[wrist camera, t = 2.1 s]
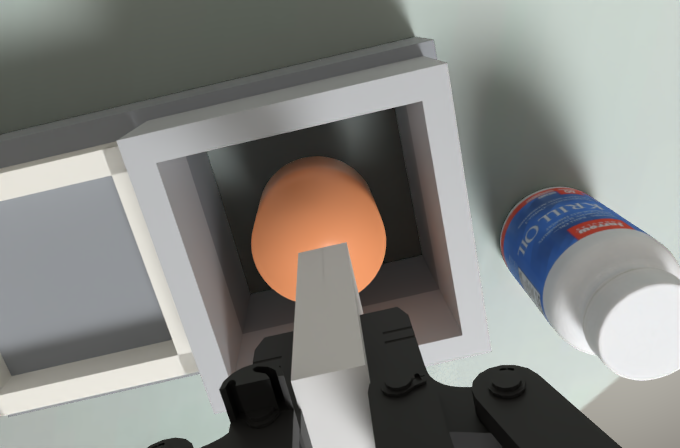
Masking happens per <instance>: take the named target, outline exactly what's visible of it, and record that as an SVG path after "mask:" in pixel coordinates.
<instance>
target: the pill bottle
mask: <svg viewBox="0 0 680 448" xmlns="http://www.w3.org/2000/svg"><path fill="white" fill-rule="evenodd" d="M500 248H501V253H502V256H503V259H504V262H505V264H506V265H507V267H508V269H509V270H510V272H511V273H512V275H513V276H514V277H515V278H516V280H517V281H518V282H519V284H520V285H521V286H522V287H523V289H524V290H525V292H526V293H527V294H528V296H529V297H530V298H531V300H532V301H533V302H534V303H535V305H536V306H537V307H538V309H539V310H540V311H541V313H542V314H543V315H544V317H545V318H546V319H547V321H548V322H549V324H550V325H551V326H552V327H553V328H554V329H555V331H556V332H557V333H558V334H559V336H560V337H561V338H562V339H563V340H564V341H566V342H567V343H568V344H569V345H571V346H572V347H574V348H576V349H578V350H580V351H582V352H585V353H588V354H591V355H597V356H598V357H599V358H600V359H601V361H602V362H603V363H604V364H605V365H606V366H607V367H608V368H609V369H610V370H611V371H613V372H614V373H616V374H617V375H619V376H622V377H624V378H628V379H632V380H652V379H657V378H660V377H664V376H667V375H669V374H671V373H673V372H675V371H677V370H678V369H680V266H679V264H678V262H677V260H676V259H675V257H674V256H673V254H672V253H671V252H670V251H669V250H668V249H667V248H666V247H665V246H664V245H663V244H661V243H660V242H658V241H657V240H656V239H654V238H653V237H651V236H650V235H648V234H647V233H645V232H644V231H642V230H641V229H639V228H638V227H636V226H635V225H633V224H632V223H630V222H629V221H627V220H626V219H624V218H623V217H621V216H620V215H618V214H617V213H615V212H614V211H612V210H611V209H609V208H607V207H606V206H604V205H603V204H601V203H600V202H598V201H597V200H595V199H594V198H593V197H591V196H589V195H588V194H586V193H584V192H582V191H579V190H577V189H573V188H569V187H550V188H545V189H542V190H539V191H536V192H534V193H532V194H530V195H528V196H526V197H525V198H523V199H522V200H521V201H520V202H518V203H517V204H516V206H515V207H514V208H513V209H512V210H511V211H510V213H509V214H508V216H507V218H506V220H505V222H504V224H503V227H502V231H501V236H500Z"/></svg>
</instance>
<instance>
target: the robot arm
mask: <svg viewBox="0 0 680 448" xmlns="http://www.w3.org/2000/svg"><path fill="white" fill-rule="evenodd" d="M219 391H220V394H221V397H222V399H223V402H224V405H225V408H226V411H227V414H228V416H229V419H230V422H231V424H230V429H229V433H228V434H226V435H225V436H223V437H222V438H220V439H218V440H216V441H214V442H212V443H210V444H208V445H206V446H203V447H201V448H622V447H620V446H619V445H618V444H617V443H616V442H615V441H614V440H613V439H611V438H610V437H609V436H608V435H607V434H606V433H605V432H603V431H602V430H601V429H600V428H599V427H598V426H596V425H595V424H594V423H593V422H592V421H591V420H590V419H589V418H587V417H586V416H585V415H584V414H583V413H582V412H581V411H579V410H578V409H577V408H576V407H575V406H574V405H573V404H571V403H570V402H569V401H568V400H567V399H566V398H565V397H563V396H562V395H561V394H560V393H559V392H558V391H557V390H555V389H554V388H553V387H552V386H551V385H550V384H549V383H547V382H546V381H545V380H544V379H543V378H542V377H541V376H539V375H538V374H537V373H535V372H533V371H532V370H530V369H528V368H525V367H521V366H516V365H501V366H497V367H493V368H489V369H487V370H485V371H484V372H482V373H480V374H479V375H478V376H477V377H476V378H475V380H474V381H473V385H472V387H453V386H448V385H444V384H441V383H439V382H437V381H435V380H434V379H433V378H431V377H430V376H429V374H428V372H427V371H426V368H425V364H424V361H423V358H422V355H421V352H420V349H419V346H418V343H417V340H416V337H415V333H414V330H413V328H412V324H411V321H410V318H409V315H408V314H407V313H405V312H404V311H403V310H401V309H400V308H398V307H394V308H389V309H385V310H380V311H376V312H371V313H366V314H363V310H362V305H361V301H360V297H359V293H358V288H357V284H356V280H355V276H354V271H353V267H352V263H351V259H350V254H349V250H348V246H347V242H345V243H341V244H336V245H332V246H327V247H323V248H318V249H314V250H310V251H305V252H301V253H298V267H297V284H296V301H295V318H294V331H291V332H287V333H282V334H277V335H273V336H268V337H264V339H263V340H262V341H261V342H260V344H259V345H258V346H257V348H256V349H255V351H254V357H253V364H252V365H249V366H246V367H243V368H241V369H239V370H237V371H236V372H234V373H232V374H231V375H230V376H229V377H228V378H227V379H225V380H224V381H223V383H222V385H221V387H220V389H219ZM148 448H193V445H192V443H190V442H189V441H188V440H186V439H182V438H171V439H166V440H162V441H160V442H157V443H155V444H153V445H151V446H149V447H148Z"/></svg>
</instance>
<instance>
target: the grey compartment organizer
mask: <svg viewBox="0 0 680 448" xmlns="http://www.w3.org/2000/svg"><path fill="white" fill-rule="evenodd" d="M390 108H395V113H396V118H397V124H398V129H399V134H400V140H401V145H402V150H403V155H404V161H405V166H406V171H407V177H408V182H409V187H410V193H411V198H412V203H413V208H414V214H415V219H416V224H417V230H418V235H419V240H420V245H421V251H422V255H420V256H416V257H412V258H407V259H403V260H398V261H394V262H390V263H385V264H382V265H381V267H380V269H379V271H378V273H377V274H376V276H375V277H374V279H373V280H372V281H371V282H370V283H369V284H368V285H367V286H366V287H365V288H364V289H363V290H362V291H360V292H359V297H360V301H361V305H362V310H363V314H366V313H371V312H376V311H380V310H385V309H389V308H394V307H398V308H400V309H401V310H403V311H404V312H405V313H407V314H408V315H409V318H410V321H411V324H412V328H413V330H414V333H415V337H416V340H417V343H418V346H419V349H420V352H421V355H422V358H423V361H424V364H425V367H427V366H431V365H436V364H440V363H444V362H449V361H453V360H458V359H462V358H467V357H471V356H476V355H480V354H485V353H489V352H492V350H491V343H490V337H489V330H488V324H487V317H486V311H485V304H484V298H483V291H482V285H481V278H480V272H479V265H478V259H477V252H476V246H475V239H474V233H473V226H472V220H471V213H470V207H469V200H468V194H467V187H466V181H465V174H464V168H463V161H462V155H461V148H460V142H459V135H458V129H457V122H456V116H455V109H454V103H453V96H452V90H451V83H450V77H449V70H448V63H445V62H442V61H439V60H437V55H436V49H435V43H434V40H433V39H427V38H420V37H412V38H408V39H404V40H399V41H395V42H391V43H387V44H382V45H378V46H374V47H370V48H365V49H361V50H357V51H353V52H348V53H344V54H340V55H336V56H331V57H327V58H323V59H319V60H314V61H310V62H306V63H302V64H297V65H293V66H289V67H285V68H280V69H276V70H272V71H268V72H263V73H259V74H255V75H251V76H246V77H242V78H238V79H234V80H229V81H225V82H221V83H217V84H212V85H208V86H204V87H200V88H196V89H191V90H187V91H183V92H179V93H174V94H170V95H166V96H162V97H157V98H153V99H149V100H145V101H140V102H136V103H132V104H128V105H123V106H119V107H115V108H111V109H106V110H102V111H98V112H94V113H89V114H85V115H81V116H77V117H72V118H68V119H64V120H60V121H55V122H51V123H47V124H43V125H38V126H34V127H30V128H26V129H21V130H17V131H13V132H9V133H4V134H0V417H1V416H5V415H8V417H11V416H15V415H20V414H24V413H28V412H33V411H37V410H42V409H46V408H51V407H55V406H59V405H64V404H68V403H73V402H77V401H82V400H86V399H90V398H95V397H99V396H104V395H108V394H113V393H117V392H121V391H126V390H130V389H135V388H139V387H144V386H148V385H152V384H157V383H161V382H166V381H170V380H175V379H179V378H184V377H188V376H192V375H197V374H200V376H201V378H202V381H203V384H204V387H205V390H206V392H207V395H208V398H209V401H210V404H211V406H212V409H213V412H214V414H217V413H222V412H226V408H225V405H224V402H223V399H222V397H221V394H220V391H219V389H220V387H221V385H222V383H223V381H224V380H225V379H227V378H228V377H229V376H230V375H231V374H232V373H234V372H236V371H237V370H239V369H241V368H243V367H246V366H249V365H252V364H253V357H254V351H255V349H256V348H257V346H258V345H259V344H260V342H261V341H262V340H263V339H264V337H268V336H273V335H277V334H282V333H287V332H291V331H294V318H295V301H292V300H290V299H288V298H285V297H284V296H282V295H280V294H279V293H277V292H276V291H275V290H274V289H271V290H267V291H262V292H258V293H254V294H250V291H249V288H248V285H247V281H246V278H245V275H244V272H243V268H242V265H241V262H240V259H239V255H238V252H237V249H236V246H235V242H234V239H233V236H232V232H231V229H230V226H229V223H228V219H227V216H226V213H225V210H224V206H223V203H222V200H221V197H220V193H219V190H218V187H217V184H216V180H215V177H214V174H213V171H212V167H211V164H210V161H209V158H208V154H207V151H210V150H214V149H219V148H223V147H227V146H231V145H236V144H240V143H244V142H249V141H253V140H257V139H261V138H266V137H270V136H274V135H279V134H283V133H287V132H291V131H296V130H300V129H304V128H309V127H313V126H317V125H321V124H326V123H330V122H334V121H339V120H343V119H347V118H351V117H356V116H360V115H364V114H369V113H373V112H377V111H381V110H386V109H390Z"/></svg>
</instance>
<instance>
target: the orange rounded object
mask: <svg viewBox="0 0 680 448" xmlns="http://www.w3.org/2000/svg"><path fill="white" fill-rule="evenodd" d="M345 242H347V246H348V250H349V254H350V259H351V263H352V267H353V271H354V276H355V280H356V284H357V288H358V293H359V292H360V291H362V290H363V289H364V288H365V287H366V286H367V285H368V284H369V283H370V282H371V281H372V280H373V279H374V277H375V276H376V274H377V273H378V271H379V269H380V267H381V265H382V262H383V259H384V256H385V250H386V234H385V228H384V225H383V221H382V219H381V216H380V214H379V211H378V208H377V206H376V203H375V201H374V198H373V196H372V193H371V191H370V188H369V186H368V185H367V183H366V181H365V180H364V179H363V177H362V176H361V175H360V174H359V173H358V172H357V171H356V170H355V169H354V168H352V167H351V166H349V165H348V164H346V163H344V162H342V161H339V160H337V159H334V158H330V157H323V156H310V157H304V158H301V159H297V160H295V161H292V162H290V163H288V164H287V165H285V166H283V167H282V168H281V169H279V170H278V171H277V172H276V173H275V174H274V175H273V176H272V177H271V178H270V180H269V181H268V183H267V184H266V186H265V188H264V190H263V193H262V195H261V199H260V203H259V207H258V211H257V215H256V219H255V223H254V227H253V232H252V240H251V247H252V255H253V259H254V262H255V265H256V267H257V269H258V271H259V273H260V275H261V276H262V278H263V279H264V280H265V282H266V283H267V284H268V285H269V286H270V287H271V288H272V289H274V290H275V291H276V292H277V293H279V294H280V295H282V296H284V297H285V298H288V299H290V300H292V301H296V284H297V267H298V253H301V252H305V251H310V250H314V249H318V248H323V247H327V246H332V245H336V244H341V243H345Z"/></svg>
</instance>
